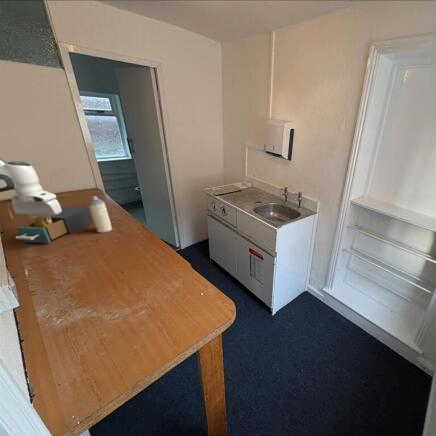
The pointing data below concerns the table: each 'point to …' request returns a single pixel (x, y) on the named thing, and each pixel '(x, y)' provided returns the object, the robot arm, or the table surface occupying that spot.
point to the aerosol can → (100, 215)
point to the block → (40, 221)
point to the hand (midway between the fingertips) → (43, 222)
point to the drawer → (42, 232)
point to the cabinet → (74, 218)
